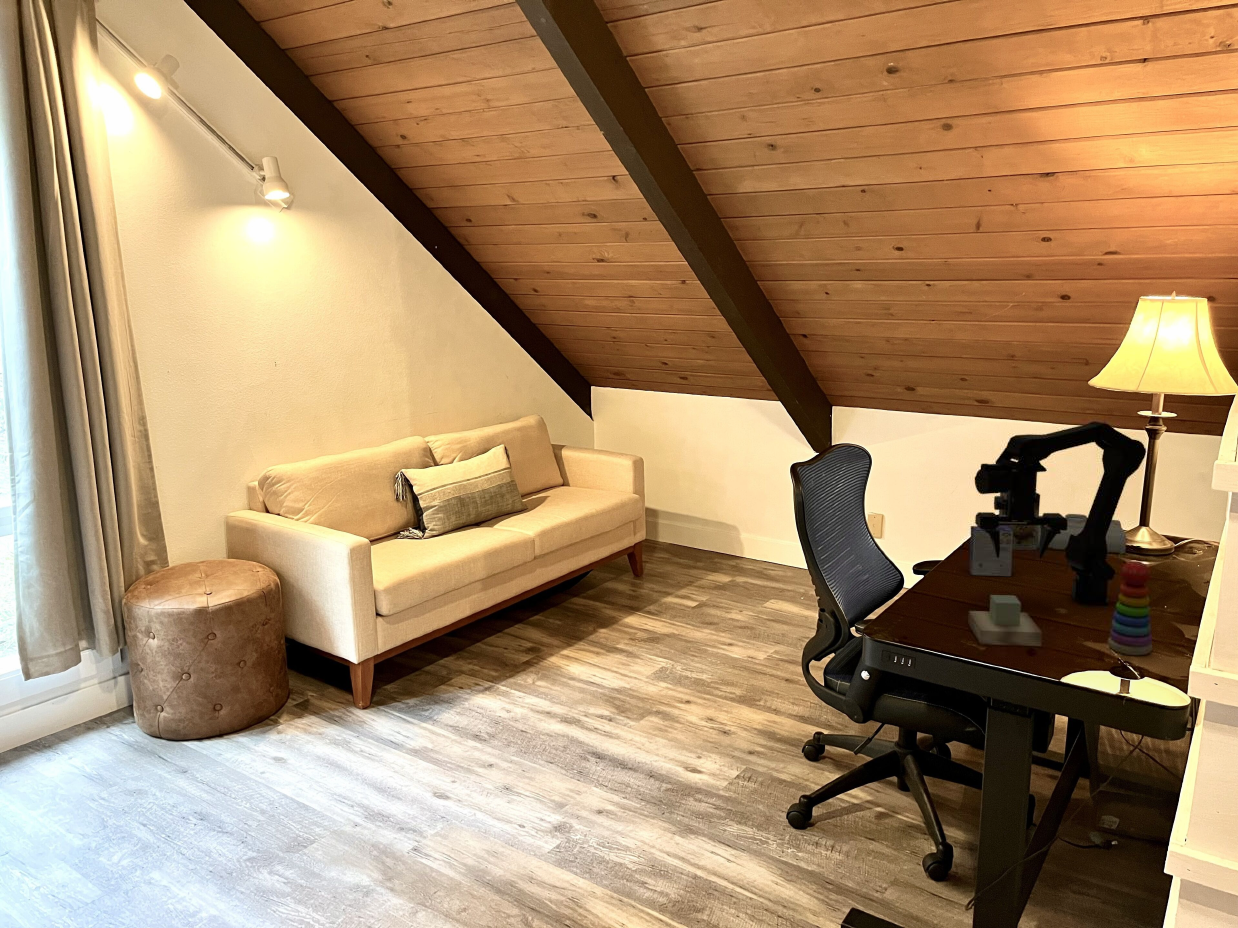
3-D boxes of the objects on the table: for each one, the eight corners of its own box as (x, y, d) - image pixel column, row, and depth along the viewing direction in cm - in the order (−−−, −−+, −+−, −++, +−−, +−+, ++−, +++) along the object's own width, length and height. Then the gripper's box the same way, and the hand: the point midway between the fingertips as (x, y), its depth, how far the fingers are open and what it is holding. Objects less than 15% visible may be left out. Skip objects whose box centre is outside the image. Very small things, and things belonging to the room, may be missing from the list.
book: (1147, 558, 247) (1149, 531, 246) (1033, 550, 258) (1035, 524, 256) (1136, 541, 265) (1138, 515, 264) (1030, 534, 275) (1032, 509, 274)
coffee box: (1005, 550, 257) (1008, 494, 254) (996, 544, 264) (998, 489, 261) (1037, 549, 257) (1041, 493, 254) (1028, 543, 263) (1031, 489, 260)
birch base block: (1025, 625, 201) (1026, 612, 201) (1041, 646, 190) (1041, 632, 189) (968, 623, 203) (968, 610, 203) (980, 644, 192) (981, 630, 191)
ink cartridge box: (1007, 570, 240) (1010, 517, 237) (1012, 577, 234) (1015, 522, 232) (968, 569, 242) (970, 516, 239) (971, 575, 236) (974, 521, 234)
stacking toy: (1099, 642, 190) (1105, 556, 187) (1135, 640, 191) (1142, 554, 188) (1122, 657, 183) (1129, 567, 179) (1160, 655, 183) (1168, 565, 180)
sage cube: (1013, 617, 198) (1014, 595, 197) (1019, 625, 193) (1021, 603, 192) (989, 616, 199) (990, 594, 198) (994, 625, 194) (996, 602, 193)
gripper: (1055, 484, 214) (1051, 548, 217) (971, 483, 217) (968, 547, 220) (1070, 494, 203) (1066, 562, 206) (982, 493, 206) (979, 560, 209)
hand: (1018, 557), depth 211 cm, fingers open, 9 cm apart
